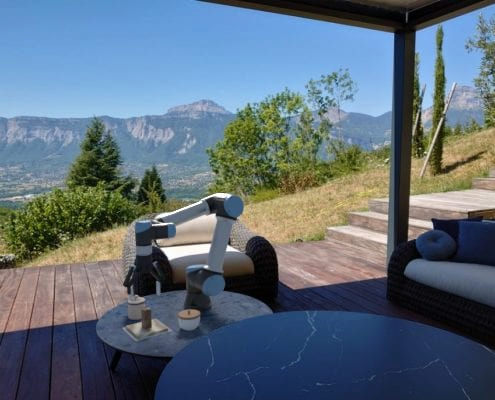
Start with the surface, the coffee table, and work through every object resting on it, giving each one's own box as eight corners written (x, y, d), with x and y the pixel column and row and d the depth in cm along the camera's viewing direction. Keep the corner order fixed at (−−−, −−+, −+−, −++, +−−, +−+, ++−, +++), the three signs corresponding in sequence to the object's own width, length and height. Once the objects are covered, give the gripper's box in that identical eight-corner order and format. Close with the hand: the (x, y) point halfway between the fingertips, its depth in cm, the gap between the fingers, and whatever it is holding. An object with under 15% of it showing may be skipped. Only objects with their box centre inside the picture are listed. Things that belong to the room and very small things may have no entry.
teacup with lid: (149, 316, 213) (148, 294, 211) (135, 322, 206) (134, 299, 204) (135, 311, 220) (134, 290, 219) (121, 316, 213) (120, 295, 212)
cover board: (155, 320, 206) (154, 301, 205) (168, 330, 194) (167, 309, 193) (126, 328, 197) (125, 307, 196) (137, 339, 185) (136, 317, 184)
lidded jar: (202, 324, 202) (202, 306, 201) (198, 334, 191) (197, 314, 190) (181, 324, 203) (180, 305, 202) (175, 333, 192) (175, 314, 191)
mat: (156, 319, 208) (156, 318, 208) (172, 331, 194) (172, 330, 194) (121, 329, 198) (121, 328, 198) (135, 342, 183) (135, 341, 183)
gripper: (165, 249, 202) (165, 290, 204) (114, 256, 187) (116, 300, 189) (171, 251, 196) (172, 294, 198) (120, 259, 181) (121, 305, 183)
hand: (145, 297), depth 194 cm, fingers open, 13 cm apart
